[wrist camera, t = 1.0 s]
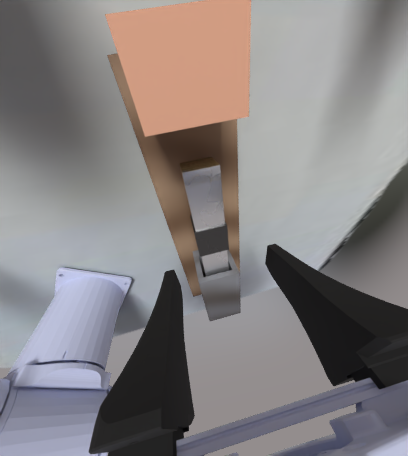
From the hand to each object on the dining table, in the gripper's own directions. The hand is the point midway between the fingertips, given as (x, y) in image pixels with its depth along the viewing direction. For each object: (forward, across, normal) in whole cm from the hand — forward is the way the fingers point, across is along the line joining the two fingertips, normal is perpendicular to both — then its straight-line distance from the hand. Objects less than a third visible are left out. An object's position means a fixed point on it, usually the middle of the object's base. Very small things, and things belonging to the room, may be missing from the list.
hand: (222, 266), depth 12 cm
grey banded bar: (+6, 0, +3) cm, 7 cm away
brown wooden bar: (+8, 0, +1) cm, 8 cm away
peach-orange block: (+7, 0, -11) cm, 13 cm away
